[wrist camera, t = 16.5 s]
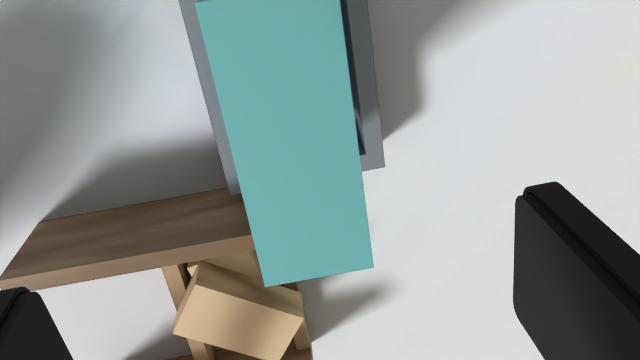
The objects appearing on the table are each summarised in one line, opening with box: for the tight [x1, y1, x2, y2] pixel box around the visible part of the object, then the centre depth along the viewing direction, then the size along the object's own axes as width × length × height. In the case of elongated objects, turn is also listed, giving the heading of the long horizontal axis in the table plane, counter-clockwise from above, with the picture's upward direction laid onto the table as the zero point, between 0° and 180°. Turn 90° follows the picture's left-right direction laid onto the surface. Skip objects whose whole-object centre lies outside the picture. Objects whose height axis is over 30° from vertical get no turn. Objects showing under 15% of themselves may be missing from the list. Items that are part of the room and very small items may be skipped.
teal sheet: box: [195, 0, 374, 287], centre depth 23 cm, size 10×4×14 cm, turn 8°
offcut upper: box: [173, 260, 304, 360], centre depth 34 cm, size 7×4×2 cm, turn 64°
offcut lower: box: [187, 250, 263, 280], centre depth 36 cm, size 7×4×2 cm, turn 20°
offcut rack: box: [0, 188, 313, 360], centre depth 34 cm, size 14×15×6 cm
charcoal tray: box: [178, 0, 385, 195], centre depth 29 cm, size 14×9×3 cm, turn 9°
